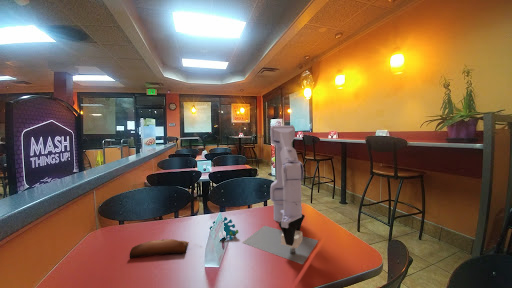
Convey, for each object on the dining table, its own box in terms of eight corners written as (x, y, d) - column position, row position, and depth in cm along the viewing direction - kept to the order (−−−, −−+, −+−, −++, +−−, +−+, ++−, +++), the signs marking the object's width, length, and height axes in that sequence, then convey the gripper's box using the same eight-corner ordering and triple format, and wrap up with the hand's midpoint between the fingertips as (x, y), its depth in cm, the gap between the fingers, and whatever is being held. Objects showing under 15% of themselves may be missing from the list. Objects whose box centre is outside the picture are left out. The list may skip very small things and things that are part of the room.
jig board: (264, 227, 88) (264, 225, 88) (318, 243, 75) (318, 240, 75) (241, 245, 74) (241, 242, 74) (302, 267, 62) (302, 264, 62)
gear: (205, 240, 75) (213, 214, 81) (208, 245, 79) (215, 220, 86) (234, 246, 74) (240, 219, 80) (235, 250, 78) (241, 224, 85)
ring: (287, 236, 71) (287, 228, 71) (302, 240, 69) (302, 231, 68) (281, 244, 67) (281, 235, 66) (297, 248, 64) (297, 238, 64)
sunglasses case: (190, 240, 78) (188, 230, 74) (187, 259, 72) (185, 249, 68) (139, 245, 75) (134, 234, 72) (132, 265, 70) (127, 254, 66)
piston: (290, 250, 69) (290, 238, 69) (296, 252, 68) (296, 240, 68) (288, 253, 67) (288, 241, 67) (294, 255, 66) (294, 243, 66)
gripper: (288, 192, 75) (288, 228, 76) (271, 204, 62) (272, 247, 63) (307, 194, 72) (307, 232, 72) (294, 208, 59) (294, 254, 60)
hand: (292, 240), depth 67 cm, fingers closed on ring, 5 cm apart
